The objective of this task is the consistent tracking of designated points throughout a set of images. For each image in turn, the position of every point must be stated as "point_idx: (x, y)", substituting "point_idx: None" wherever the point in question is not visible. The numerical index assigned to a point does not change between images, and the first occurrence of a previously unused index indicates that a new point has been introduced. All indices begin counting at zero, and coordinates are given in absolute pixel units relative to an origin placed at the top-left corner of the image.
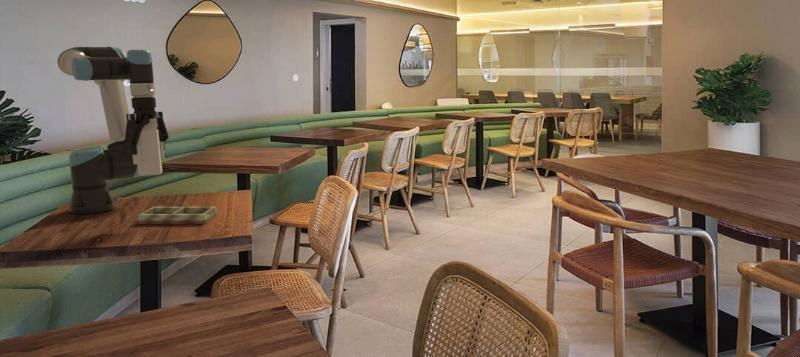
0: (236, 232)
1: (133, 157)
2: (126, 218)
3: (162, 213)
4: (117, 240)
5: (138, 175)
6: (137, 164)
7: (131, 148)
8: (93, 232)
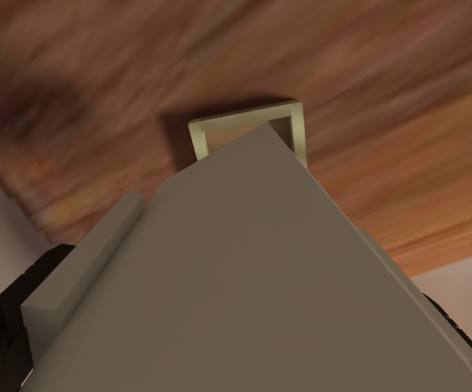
0: None
1: (106, 221)
2: (249, 23)
3: (284, 139)
4: (48, 168)
5: (162, 182)
6: (145, 210)
7: (8, 298)
8: (72, 39)
